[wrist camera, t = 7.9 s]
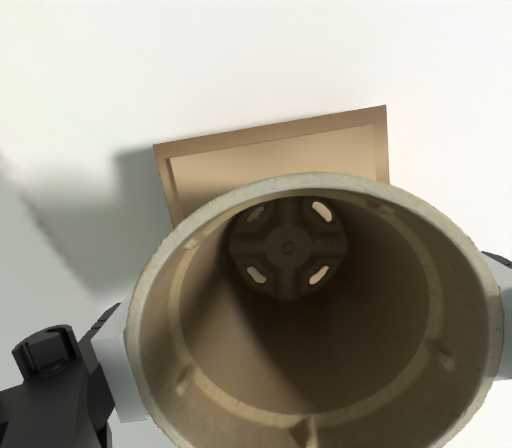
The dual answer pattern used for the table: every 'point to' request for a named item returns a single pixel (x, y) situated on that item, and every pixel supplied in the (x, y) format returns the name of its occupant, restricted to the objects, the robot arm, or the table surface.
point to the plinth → (272, 159)
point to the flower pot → (315, 320)
